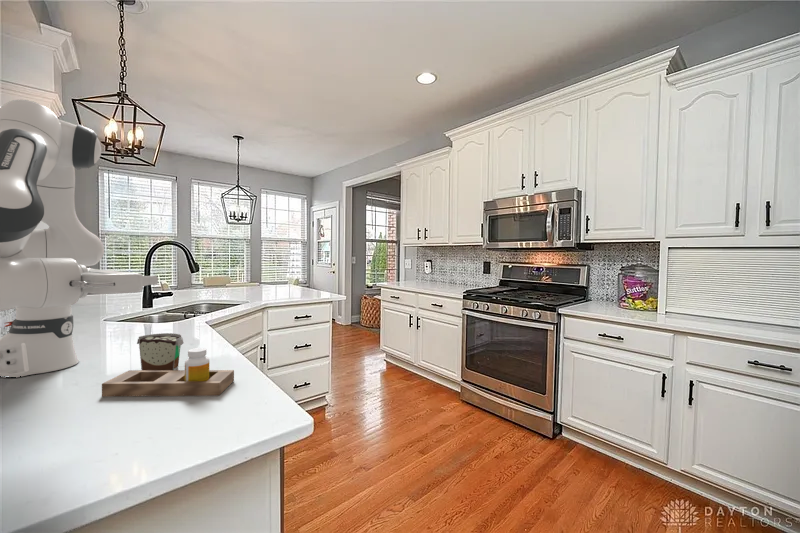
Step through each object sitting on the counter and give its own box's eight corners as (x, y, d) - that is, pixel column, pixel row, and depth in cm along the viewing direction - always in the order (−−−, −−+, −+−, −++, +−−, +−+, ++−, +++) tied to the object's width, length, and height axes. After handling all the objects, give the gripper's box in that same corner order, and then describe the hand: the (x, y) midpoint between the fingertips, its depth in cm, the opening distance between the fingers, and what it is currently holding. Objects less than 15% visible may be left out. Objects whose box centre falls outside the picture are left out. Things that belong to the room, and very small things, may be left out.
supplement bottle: (214, 386, 90) (214, 348, 89) (194, 394, 85) (194, 353, 84) (199, 382, 92) (200, 345, 91) (179, 389, 87) (179, 350, 87)
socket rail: (101, 396, 82) (101, 383, 82) (128, 381, 91) (128, 370, 91) (219, 395, 84) (219, 383, 84) (233, 381, 94) (234, 370, 93)
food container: (193, 368, 103) (193, 334, 103) (178, 375, 97) (178, 339, 97) (154, 365, 104) (154, 331, 104) (136, 372, 98) (136, 336, 98)
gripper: (85, 267, 59) (171, 266, 72) (37, 262, 69) (120, 262, 81) (85, 304, 60) (171, 297, 72) (38, 295, 69) (120, 289, 81)
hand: (144, 278), depth 77 cm, fingers open, 8 cm apart
